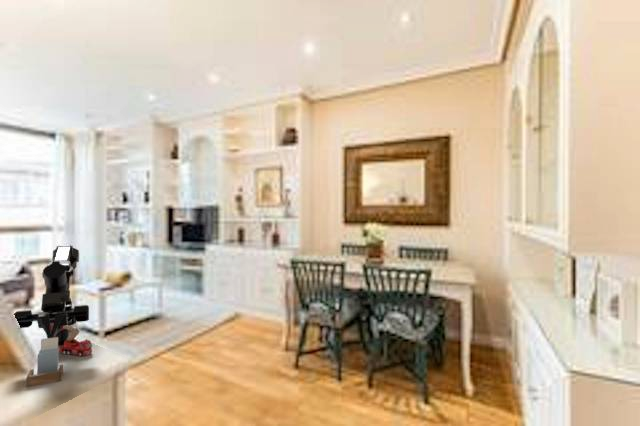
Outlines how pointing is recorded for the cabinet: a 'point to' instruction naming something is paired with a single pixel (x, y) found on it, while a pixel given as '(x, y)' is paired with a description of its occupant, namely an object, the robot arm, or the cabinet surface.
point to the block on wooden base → (48, 356)
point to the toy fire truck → (75, 343)
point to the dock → (43, 377)
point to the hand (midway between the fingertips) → (50, 341)
